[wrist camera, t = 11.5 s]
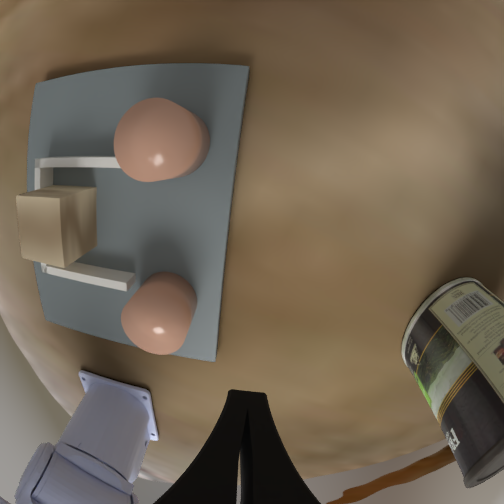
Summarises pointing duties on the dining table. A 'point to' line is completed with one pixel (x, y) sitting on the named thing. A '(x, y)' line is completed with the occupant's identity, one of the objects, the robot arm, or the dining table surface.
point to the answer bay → (76, 270)
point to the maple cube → (57, 223)
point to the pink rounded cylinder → (160, 313)
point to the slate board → (142, 192)
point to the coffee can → (462, 372)
